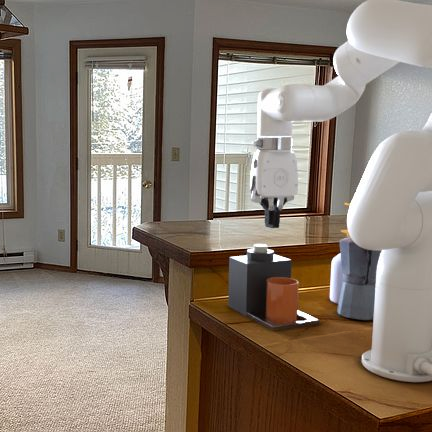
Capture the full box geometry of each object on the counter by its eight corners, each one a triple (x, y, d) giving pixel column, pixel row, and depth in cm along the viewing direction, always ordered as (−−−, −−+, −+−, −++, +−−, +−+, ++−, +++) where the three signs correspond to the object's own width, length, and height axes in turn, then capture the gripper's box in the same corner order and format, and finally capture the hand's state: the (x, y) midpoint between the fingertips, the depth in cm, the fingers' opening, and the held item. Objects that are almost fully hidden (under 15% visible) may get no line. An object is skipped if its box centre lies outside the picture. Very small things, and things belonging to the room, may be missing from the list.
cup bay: (319, 324, 121) (319, 319, 121) (272, 331, 117) (273, 326, 117) (289, 310, 131) (290, 306, 131) (246, 316, 126) (246, 312, 126)
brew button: (270, 253, 129) (270, 246, 129) (258, 254, 128) (258, 247, 128) (262, 250, 132) (262, 243, 132) (250, 251, 131) (251, 244, 131)
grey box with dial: (289, 310, 131) (292, 252, 129) (246, 316, 126) (247, 256, 124) (270, 301, 138) (272, 246, 136) (228, 306, 134) (229, 249, 132)
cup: (303, 322, 122) (305, 283, 121) (277, 326, 120) (278, 286, 118) (284, 313, 128) (286, 275, 127) (259, 317, 126) (260, 278, 125)
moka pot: (370, 306, 134) (375, 224, 131) (392, 328, 118) (398, 236, 116) (329, 305, 135) (333, 224, 132) (346, 327, 119) (351, 235, 117)
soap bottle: (322, 298, 141) (327, 201, 137) (352, 295, 143) (357, 200, 140) (344, 308, 132) (350, 206, 129) (376, 305, 135) (383, 204, 131)
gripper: (254, 146, 117) (252, 232, 119) (312, 145, 122) (309, 227, 125) (236, 145, 124) (234, 227, 126) (291, 145, 129) (289, 223, 132)
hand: (272, 227), depth 125 cm, fingers closed
